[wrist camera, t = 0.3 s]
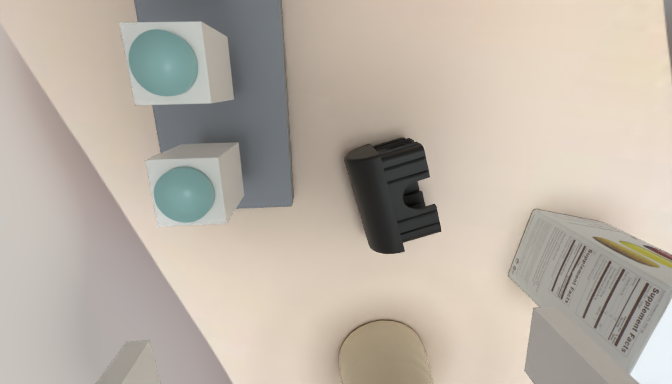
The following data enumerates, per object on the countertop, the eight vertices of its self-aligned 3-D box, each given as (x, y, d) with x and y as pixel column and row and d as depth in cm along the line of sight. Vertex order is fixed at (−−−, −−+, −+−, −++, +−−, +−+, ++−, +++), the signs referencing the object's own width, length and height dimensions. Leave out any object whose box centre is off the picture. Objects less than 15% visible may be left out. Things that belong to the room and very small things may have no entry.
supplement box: (604, 220, 41) (790, 306, 25) (574, 287, 44) (726, 404, 28) (531, 207, 40) (677, 288, 24) (504, 276, 43) (621, 391, 27)
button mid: (165, 37, 26) (111, 20, 19) (227, 36, 26) (196, 18, 19) (174, 101, 27) (128, 106, 20) (234, 99, 27) (207, 104, 21)
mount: (135, -86, 30) (73, -146, 22) (276, -86, 30) (263, -144, 23) (181, 201, 37) (147, 231, 30) (293, 197, 38) (288, 225, 30)
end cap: (340, 150, 37) (346, 164, 30) (404, 131, 37) (424, 141, 30) (364, 233, 40) (374, 261, 33) (423, 215, 40) (445, 240, 33)
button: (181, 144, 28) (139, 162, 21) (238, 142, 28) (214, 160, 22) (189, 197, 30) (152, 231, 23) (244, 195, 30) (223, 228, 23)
